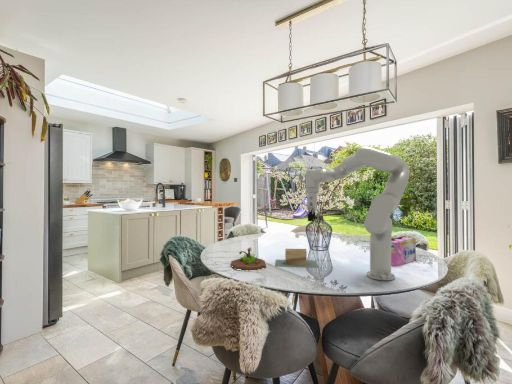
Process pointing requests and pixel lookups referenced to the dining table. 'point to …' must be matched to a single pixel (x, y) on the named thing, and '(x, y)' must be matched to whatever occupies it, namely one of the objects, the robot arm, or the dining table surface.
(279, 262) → the mat
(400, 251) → the gum box
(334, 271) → the dining table surface
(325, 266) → the dining table surface
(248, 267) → the plant
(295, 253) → the oak block
